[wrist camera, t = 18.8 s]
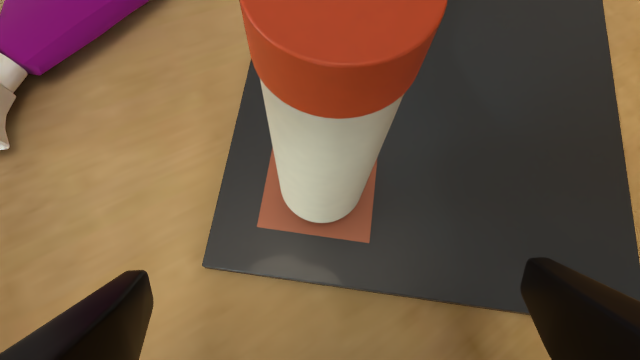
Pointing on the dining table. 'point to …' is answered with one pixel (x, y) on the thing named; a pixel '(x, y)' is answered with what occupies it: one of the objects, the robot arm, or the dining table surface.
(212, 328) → the dining table surface
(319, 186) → the white and orange cylinder
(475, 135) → the board
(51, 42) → the spray bottle
